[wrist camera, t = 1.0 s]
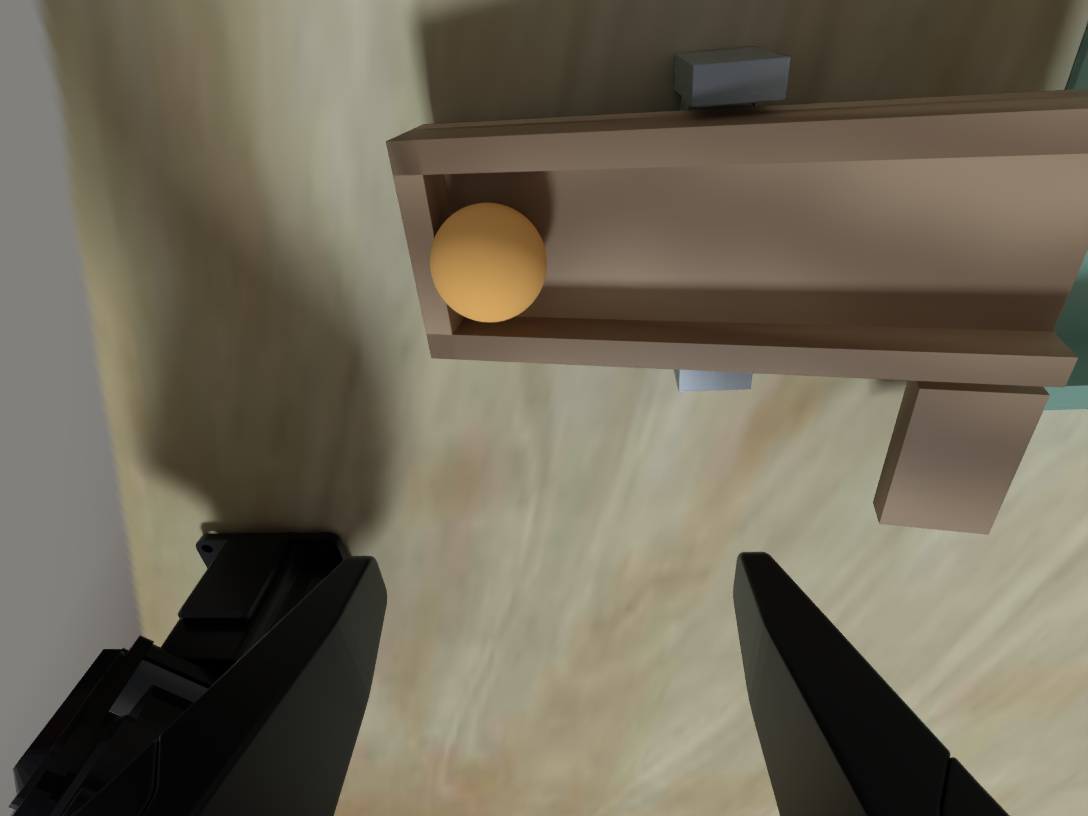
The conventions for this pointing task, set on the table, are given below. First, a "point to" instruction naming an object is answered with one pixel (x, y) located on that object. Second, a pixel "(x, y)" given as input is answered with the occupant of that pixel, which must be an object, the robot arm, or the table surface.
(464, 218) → the ball
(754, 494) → the table surface
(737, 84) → the fulcrum
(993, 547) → the table surface
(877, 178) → the chute
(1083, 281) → the tray
